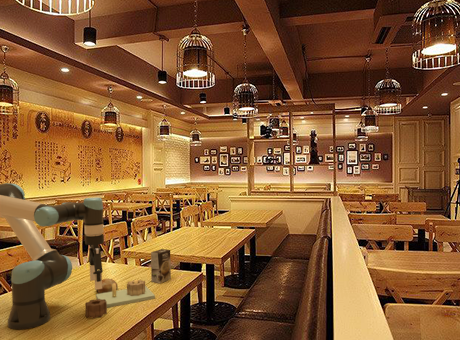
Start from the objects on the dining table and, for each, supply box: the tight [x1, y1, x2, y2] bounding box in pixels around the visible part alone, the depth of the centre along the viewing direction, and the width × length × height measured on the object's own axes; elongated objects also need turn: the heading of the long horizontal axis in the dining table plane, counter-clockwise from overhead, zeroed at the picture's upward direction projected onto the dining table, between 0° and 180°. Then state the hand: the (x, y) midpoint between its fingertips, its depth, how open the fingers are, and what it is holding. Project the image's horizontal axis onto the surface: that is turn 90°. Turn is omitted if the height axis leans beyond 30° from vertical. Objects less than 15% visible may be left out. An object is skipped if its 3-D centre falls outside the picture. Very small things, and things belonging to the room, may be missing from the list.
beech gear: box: [126, 279, 146, 296], centre depth 180 cm, size 8×8×5 cm
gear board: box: [95, 279, 156, 309], centre depth 178 cm, size 24×16×8 cm, turn 118°
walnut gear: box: [84, 298, 108, 319], centre depth 159 cm, size 8×8×5 cm
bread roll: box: [95, 278, 119, 294], centre depth 188 cm, size 10×10×8 cm
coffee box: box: [150, 248, 172, 284], centre depth 203 cm, size 9×6×16 cm
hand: (96, 284), depth 159 cm, fingers open, 13 cm apart
